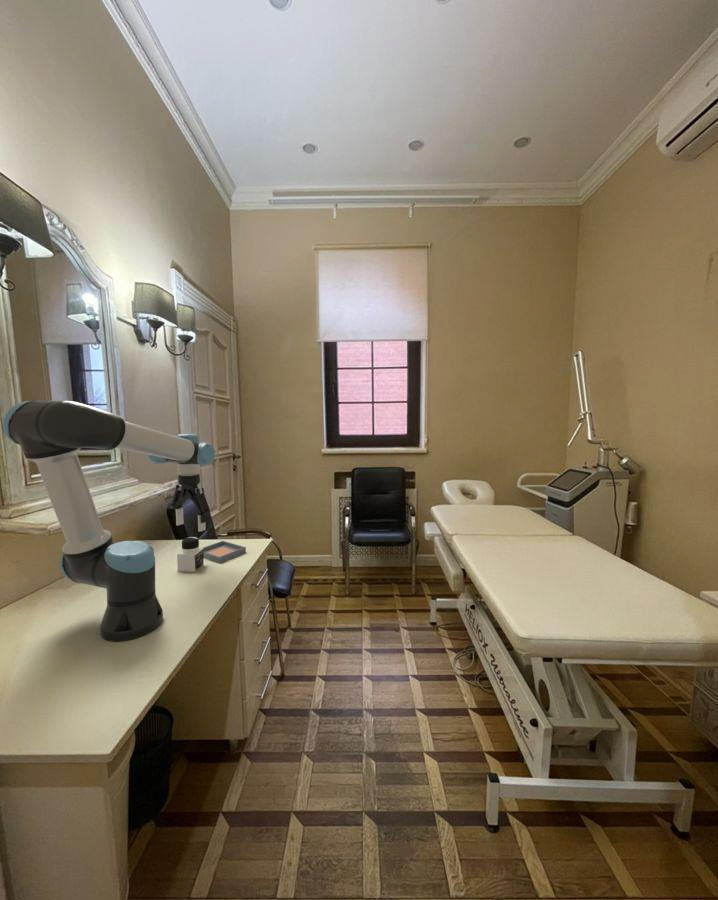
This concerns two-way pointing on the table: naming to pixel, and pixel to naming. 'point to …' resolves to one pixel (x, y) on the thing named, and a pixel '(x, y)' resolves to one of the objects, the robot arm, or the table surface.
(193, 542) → the medicine bottle
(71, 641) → the table surface
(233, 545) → the tray
